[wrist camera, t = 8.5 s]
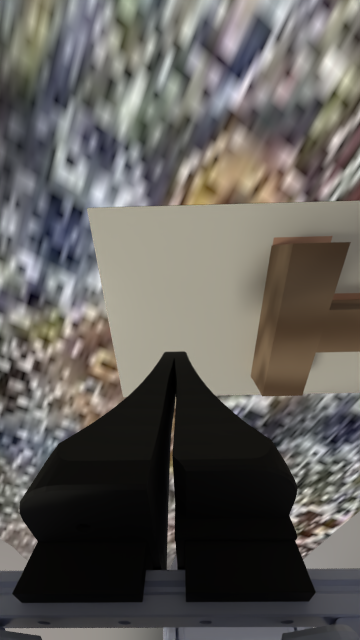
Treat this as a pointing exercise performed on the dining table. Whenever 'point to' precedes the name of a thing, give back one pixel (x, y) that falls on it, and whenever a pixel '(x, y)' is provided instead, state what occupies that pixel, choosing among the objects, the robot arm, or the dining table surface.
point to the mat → (212, 285)
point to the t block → (302, 316)
